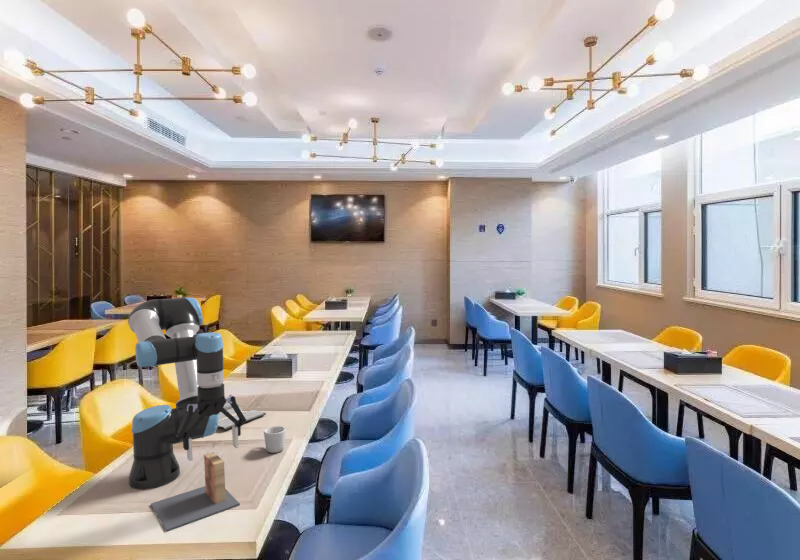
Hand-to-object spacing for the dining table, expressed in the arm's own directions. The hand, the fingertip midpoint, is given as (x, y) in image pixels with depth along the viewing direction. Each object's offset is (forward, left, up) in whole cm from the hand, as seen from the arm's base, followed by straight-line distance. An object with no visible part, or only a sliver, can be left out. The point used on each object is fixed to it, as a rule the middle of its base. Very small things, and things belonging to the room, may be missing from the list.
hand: (213, 452), depth 142 cm
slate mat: (0, -6, -14) cm, 15 cm away
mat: (-67, +28, -15) cm, 74 cm away
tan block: (0, 0, -14) cm, 14 cm away
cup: (-22, +29, -14) cm, 39 cm away
